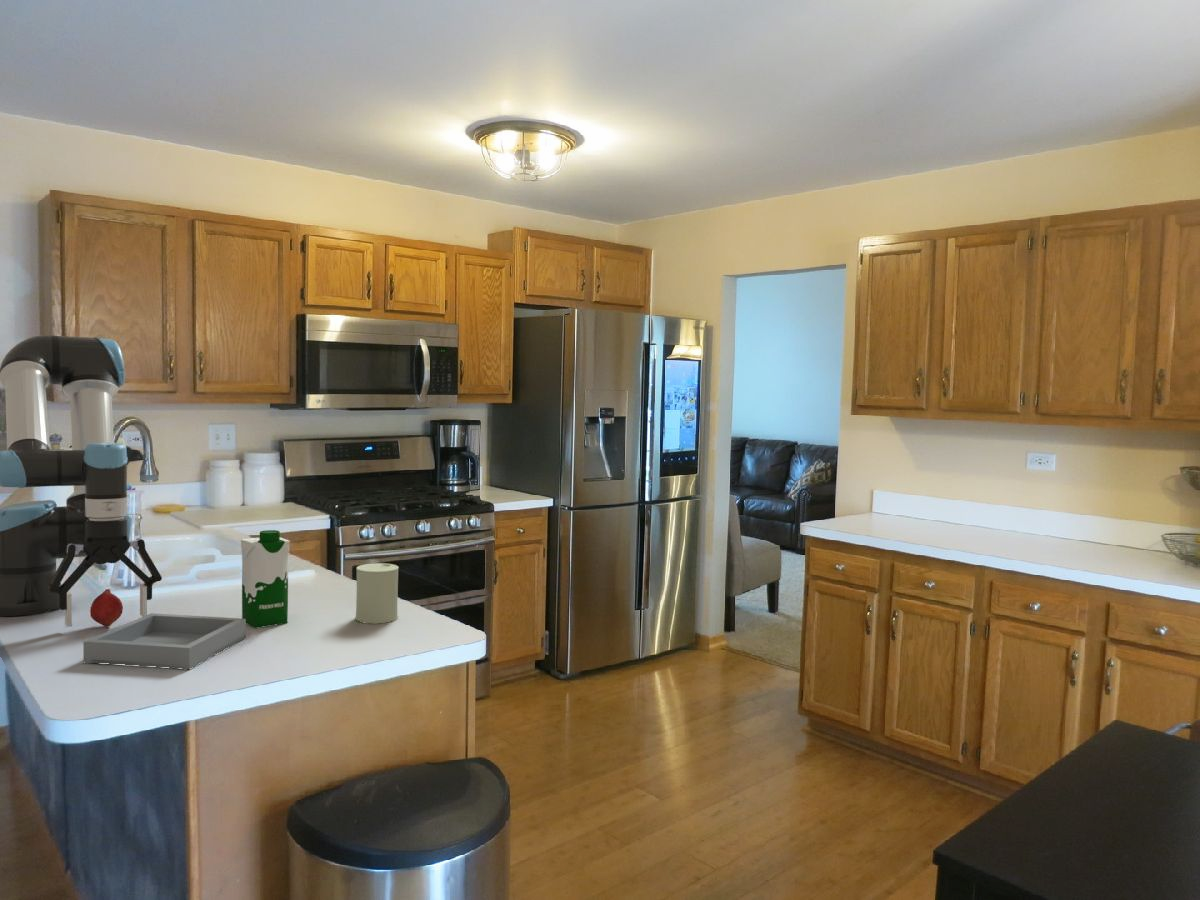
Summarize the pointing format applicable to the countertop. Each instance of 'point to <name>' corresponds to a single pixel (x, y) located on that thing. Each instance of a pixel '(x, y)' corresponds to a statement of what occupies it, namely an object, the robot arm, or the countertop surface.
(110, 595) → the onion
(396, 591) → the can
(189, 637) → the tray
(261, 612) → the milk carton
